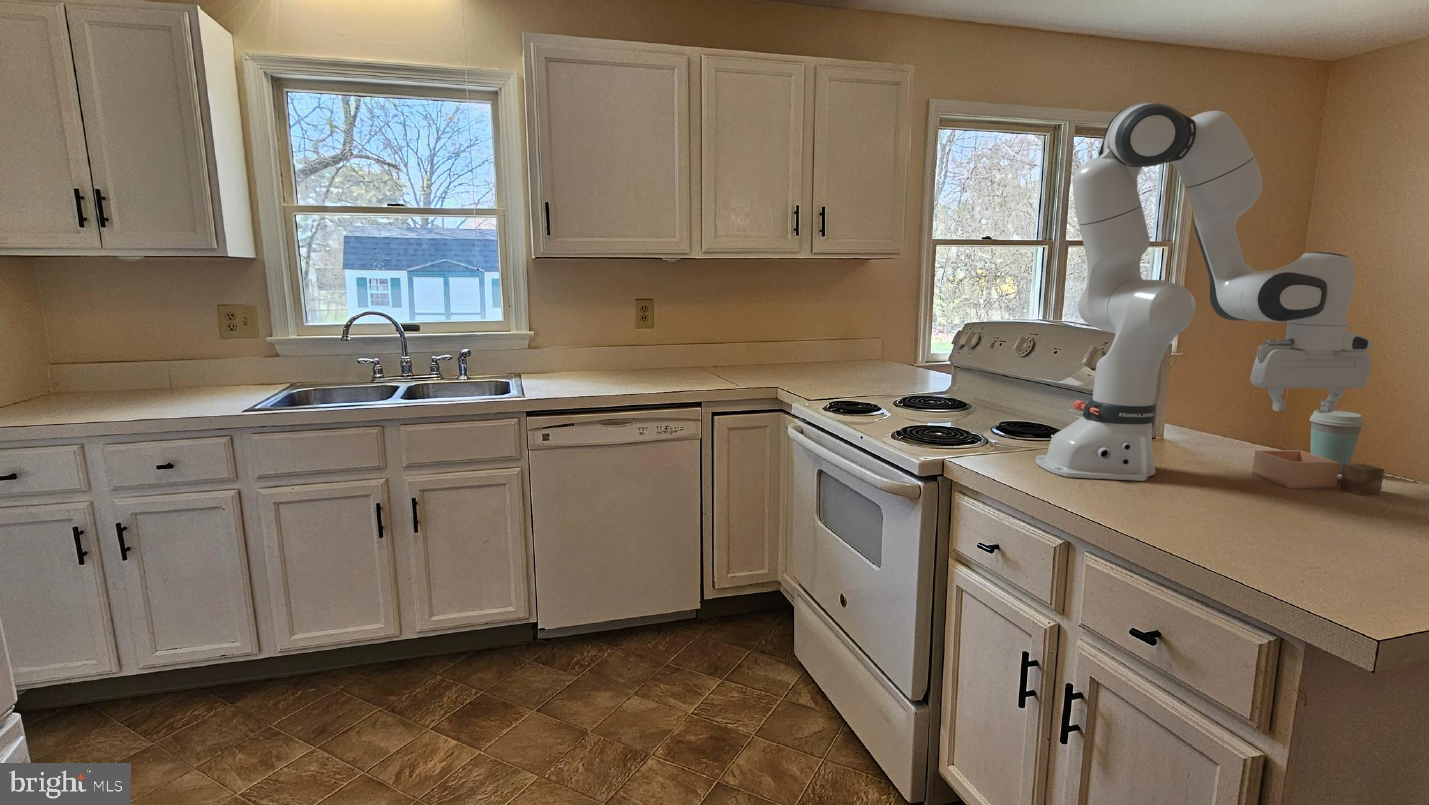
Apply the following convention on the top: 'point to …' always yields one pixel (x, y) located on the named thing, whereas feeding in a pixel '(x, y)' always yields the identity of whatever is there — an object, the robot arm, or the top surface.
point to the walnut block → (1361, 479)
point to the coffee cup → (1335, 435)
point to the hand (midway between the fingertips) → (1303, 410)
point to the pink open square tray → (1295, 469)
